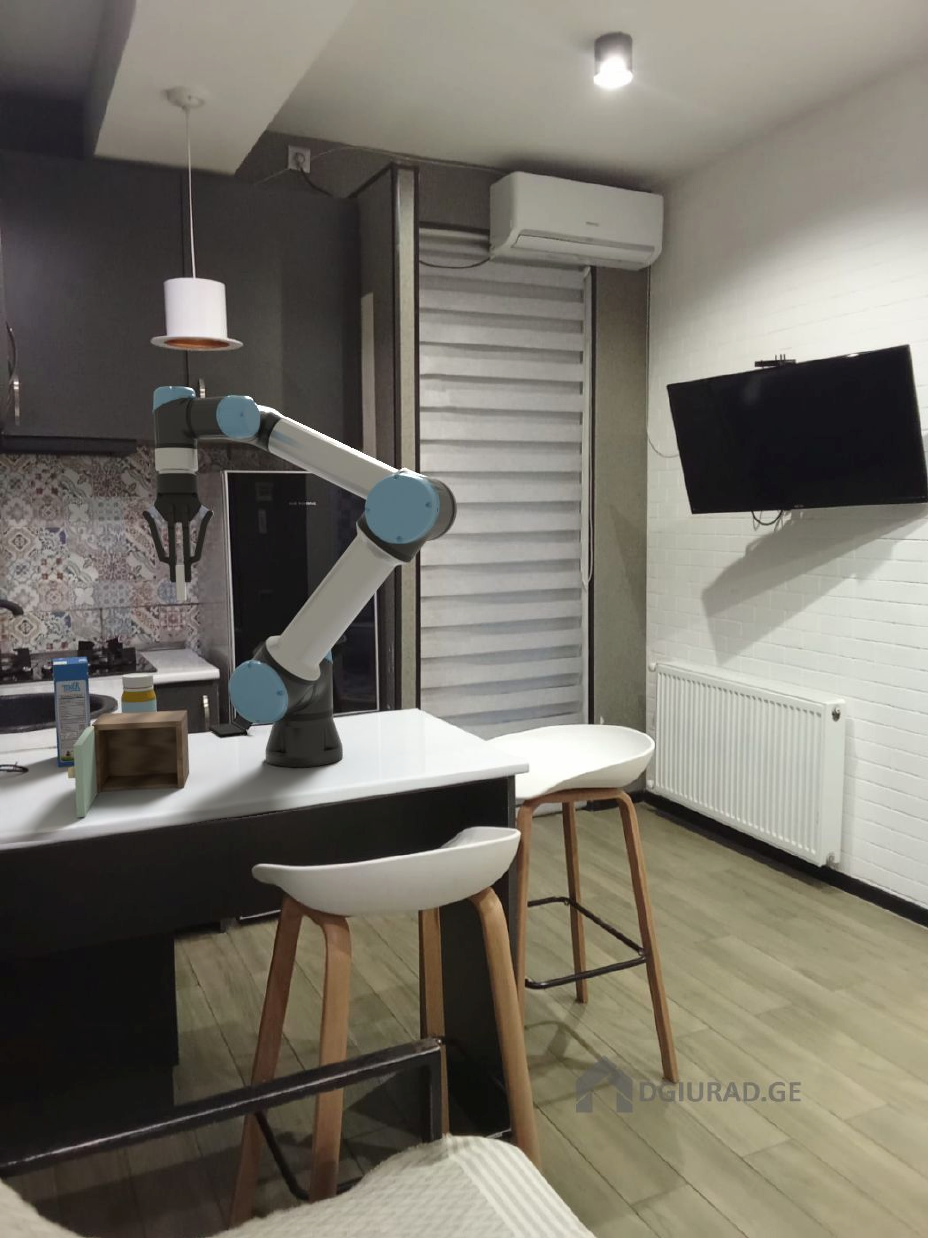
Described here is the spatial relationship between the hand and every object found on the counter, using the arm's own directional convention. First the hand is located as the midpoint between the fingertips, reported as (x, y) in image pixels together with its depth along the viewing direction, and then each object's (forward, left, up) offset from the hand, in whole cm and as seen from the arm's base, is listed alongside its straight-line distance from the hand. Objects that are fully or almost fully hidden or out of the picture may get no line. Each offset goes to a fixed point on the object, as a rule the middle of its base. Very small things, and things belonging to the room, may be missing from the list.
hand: (181, 600), depth 179 cm
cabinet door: (+15, +21, -32) cm, 41 cm away
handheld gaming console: (-7, -34, -33) cm, 48 cm away
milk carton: (+23, -13, -33) cm, 42 cm away
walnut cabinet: (+7, +8, -32) cm, 34 cm away
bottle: (+12, -24, -33) cm, 42 cm away
